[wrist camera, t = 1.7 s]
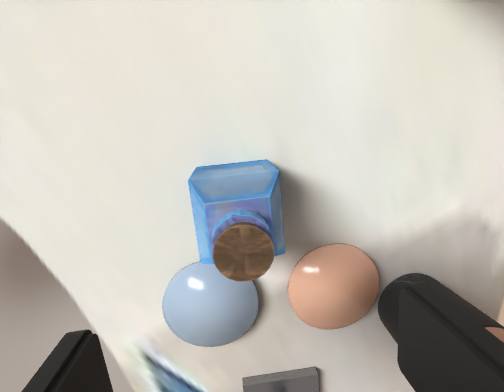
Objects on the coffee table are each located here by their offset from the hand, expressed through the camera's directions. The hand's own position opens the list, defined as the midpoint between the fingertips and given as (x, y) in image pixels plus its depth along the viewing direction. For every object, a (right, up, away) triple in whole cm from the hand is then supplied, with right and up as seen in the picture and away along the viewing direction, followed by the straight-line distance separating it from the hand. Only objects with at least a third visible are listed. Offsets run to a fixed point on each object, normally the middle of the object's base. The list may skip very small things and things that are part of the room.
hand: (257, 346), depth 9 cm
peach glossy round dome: (+8, -4, +21) cm, 22 cm away
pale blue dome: (-4, -6, +20) cm, 21 cm away
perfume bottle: (-2, +5, +18) cm, 18 cm away
